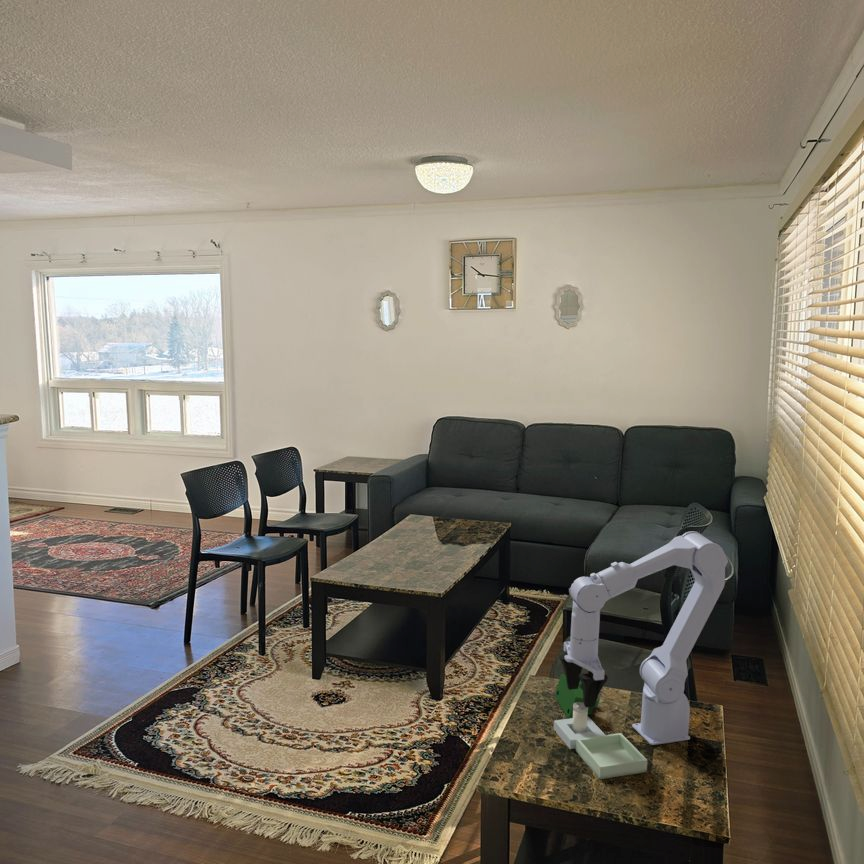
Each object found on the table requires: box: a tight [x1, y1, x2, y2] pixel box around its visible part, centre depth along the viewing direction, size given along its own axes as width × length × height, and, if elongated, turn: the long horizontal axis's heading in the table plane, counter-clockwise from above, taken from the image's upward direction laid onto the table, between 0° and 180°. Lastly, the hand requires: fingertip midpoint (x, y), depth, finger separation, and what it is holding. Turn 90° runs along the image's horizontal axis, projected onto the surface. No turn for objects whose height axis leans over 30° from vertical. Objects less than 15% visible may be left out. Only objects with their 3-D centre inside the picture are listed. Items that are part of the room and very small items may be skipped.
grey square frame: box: [553, 715, 606, 750], centre depth 164 cm, size 8×8×2 cm
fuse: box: [572, 702, 589, 734], centre depth 163 cm, size 3×3×7 cm
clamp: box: [554, 673, 600, 719], centre depth 175 cm, size 12×6×9 cm, turn 0°
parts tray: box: [575, 732, 648, 780], centre depth 155 cm, size 10×10×2 cm
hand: (581, 697), depth 162 cm, fingers open, 7 cm apart
